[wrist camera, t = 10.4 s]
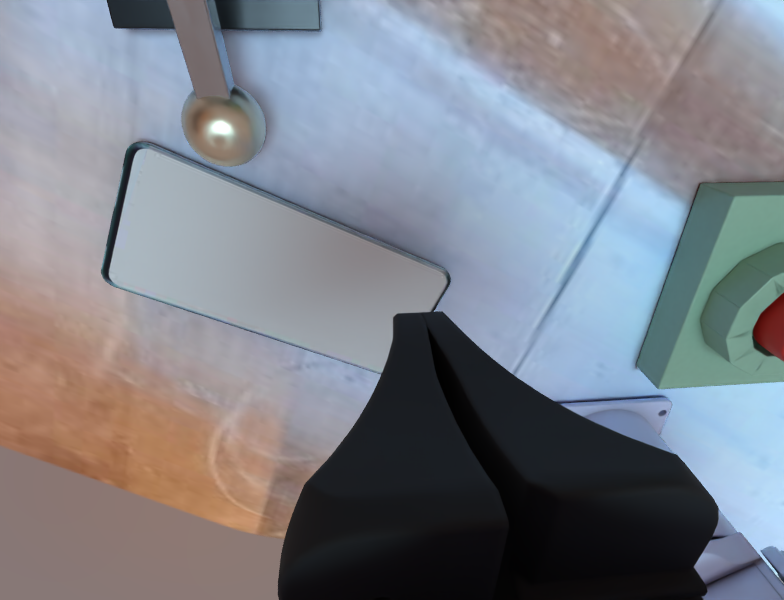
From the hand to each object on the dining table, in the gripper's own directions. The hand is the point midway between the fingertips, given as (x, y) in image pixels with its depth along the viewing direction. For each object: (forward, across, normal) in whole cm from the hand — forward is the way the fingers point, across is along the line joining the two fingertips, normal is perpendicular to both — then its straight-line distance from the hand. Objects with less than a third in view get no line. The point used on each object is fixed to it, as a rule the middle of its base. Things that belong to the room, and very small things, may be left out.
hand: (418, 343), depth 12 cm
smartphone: (+10, +5, +2) cm, 11 cm away
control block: (+10, -19, +4) cm, 22 cm away
